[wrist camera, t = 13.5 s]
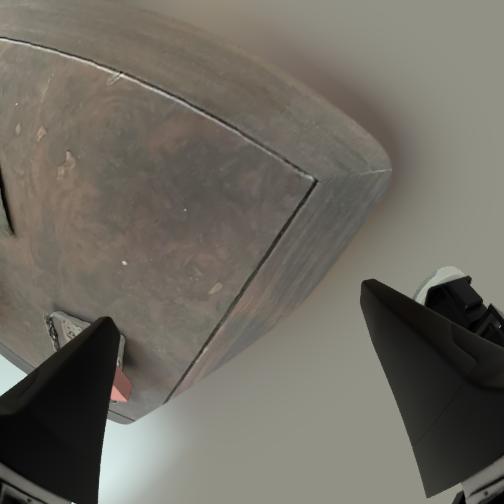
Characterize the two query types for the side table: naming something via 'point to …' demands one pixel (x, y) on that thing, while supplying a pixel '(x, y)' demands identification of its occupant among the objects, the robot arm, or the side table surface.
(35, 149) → the side table surface
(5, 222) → the stone
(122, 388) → the eraser
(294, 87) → the side table surface
